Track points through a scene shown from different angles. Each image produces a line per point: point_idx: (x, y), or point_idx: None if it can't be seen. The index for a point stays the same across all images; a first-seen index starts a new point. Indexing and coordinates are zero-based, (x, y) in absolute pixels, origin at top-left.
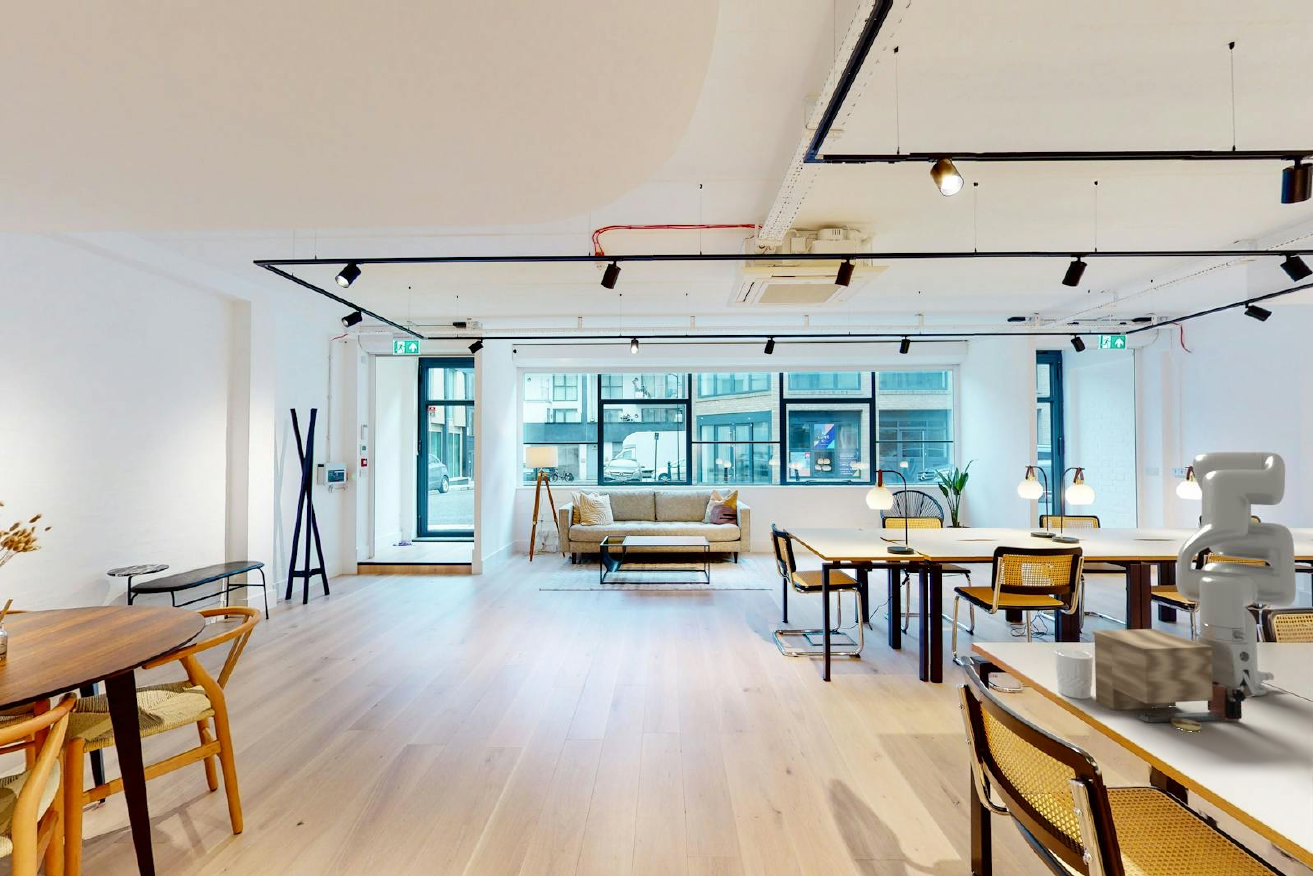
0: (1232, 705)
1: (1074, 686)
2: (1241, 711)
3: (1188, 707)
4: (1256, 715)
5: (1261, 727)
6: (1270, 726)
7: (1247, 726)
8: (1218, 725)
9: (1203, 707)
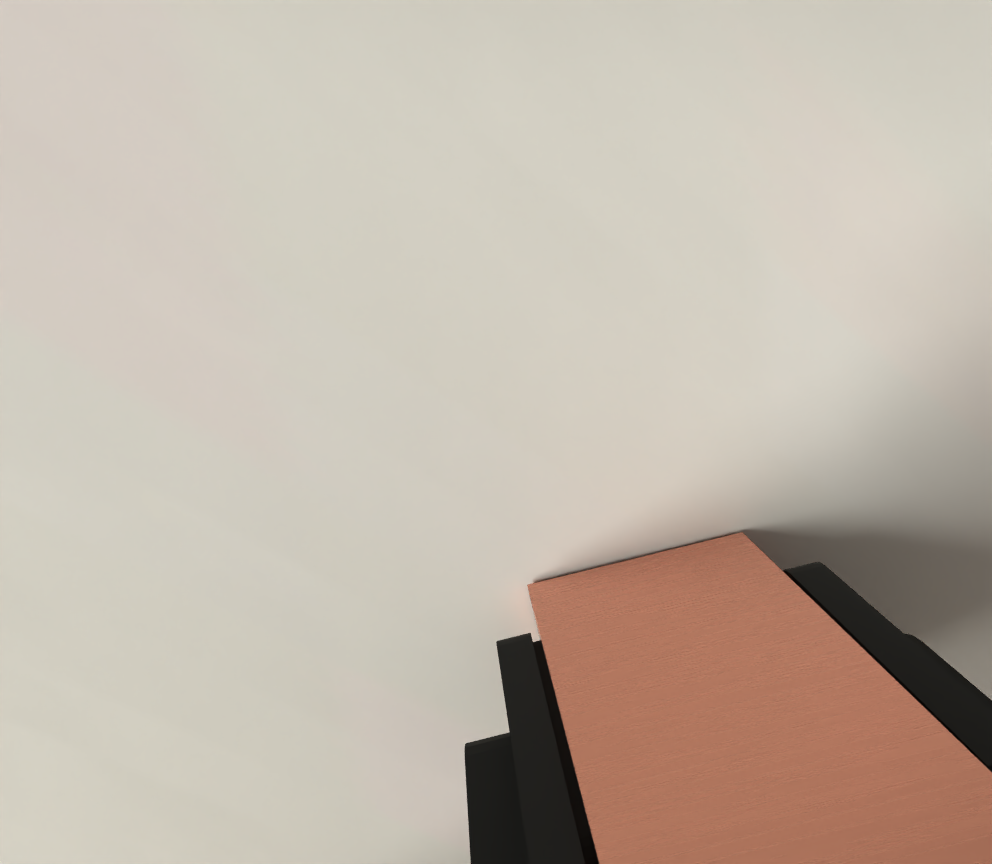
0: None
1: None
2: (874, 610)
3: (300, 837)
4: (463, 68)
5: (919, 372)
6: (895, 209)
7: (881, 530)
8: None
9: (253, 667)
